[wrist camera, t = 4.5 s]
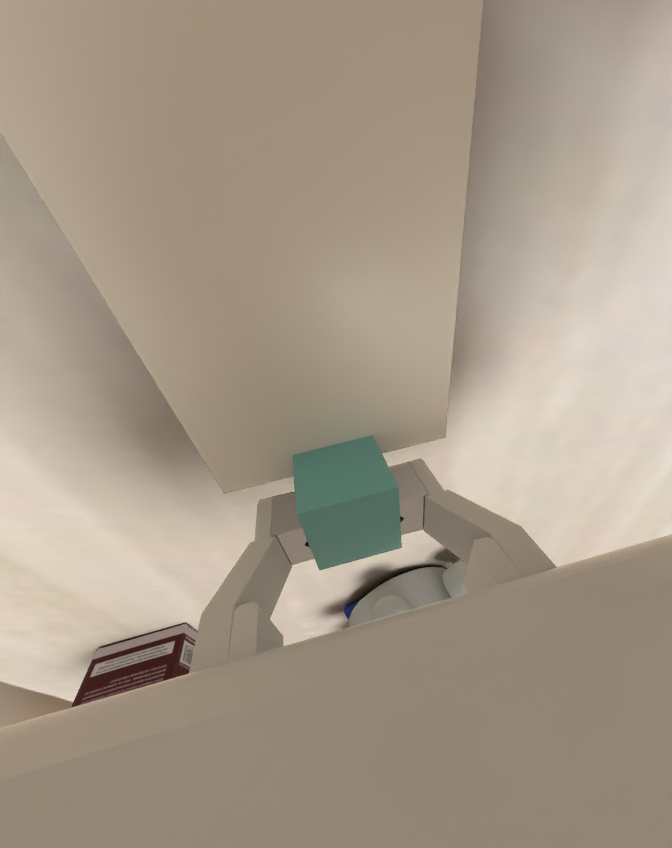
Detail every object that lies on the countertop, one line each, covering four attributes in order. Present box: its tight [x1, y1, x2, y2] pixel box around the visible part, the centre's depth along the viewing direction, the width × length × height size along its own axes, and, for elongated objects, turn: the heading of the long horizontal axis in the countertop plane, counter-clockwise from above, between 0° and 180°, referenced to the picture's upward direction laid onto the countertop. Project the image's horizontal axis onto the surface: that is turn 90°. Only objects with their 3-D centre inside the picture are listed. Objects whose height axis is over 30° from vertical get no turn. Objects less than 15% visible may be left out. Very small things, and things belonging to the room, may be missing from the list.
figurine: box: [344, 561, 468, 627], centre depth 27 cm, size 17×8×20 cm
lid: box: [0, 0, 484, 570], centre depth 7 cm, size 14×9×4 cm, turn 9°
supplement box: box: [71, 624, 198, 708], centre depth 19 cm, size 9×5×16 cm, turn 100°
